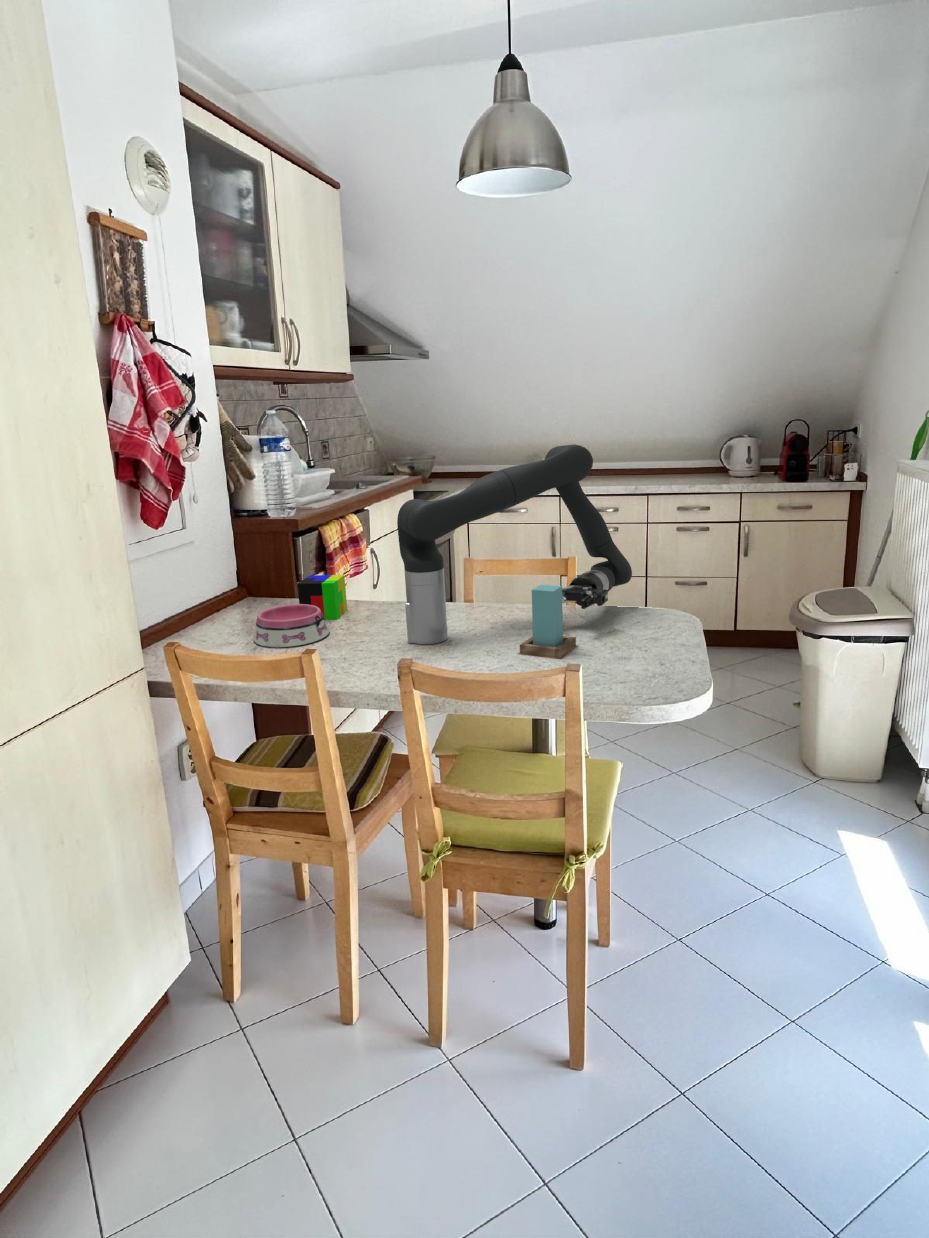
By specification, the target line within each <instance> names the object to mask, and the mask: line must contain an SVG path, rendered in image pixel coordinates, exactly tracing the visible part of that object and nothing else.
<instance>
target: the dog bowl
mask: <svg viewBox="0 0 929 1238" xmlns="http://www.w3.org/2000/svg"><path fill="white" fill-rule="evenodd" d="M330 635H331V632H330V630H329V627H328V626H327V623H326V620H325V619H324V616H323V614H322V612H321V610H320V608H318V607H317V606H314V605H308V604H299V603H294V604H293V603H291V604H284V605H279V606H273V607H270V608H266V609H264V610H261V611H260V612H259V613H258V614H257V616H256V622H255V632H254V636H253V637H254V639H253V643H254V644H255V645H256V646H258V647H262V648H267V649H292V648H293V649H294V648H301V647H306V646H310V645H314V644H316V643H317V644H318V643H320V642H322V641H325V640H326V639H327V638H329V636H330Z"/></svg>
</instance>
